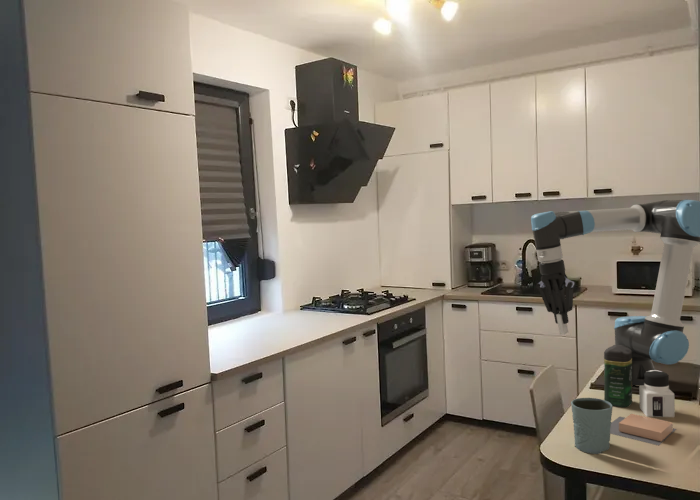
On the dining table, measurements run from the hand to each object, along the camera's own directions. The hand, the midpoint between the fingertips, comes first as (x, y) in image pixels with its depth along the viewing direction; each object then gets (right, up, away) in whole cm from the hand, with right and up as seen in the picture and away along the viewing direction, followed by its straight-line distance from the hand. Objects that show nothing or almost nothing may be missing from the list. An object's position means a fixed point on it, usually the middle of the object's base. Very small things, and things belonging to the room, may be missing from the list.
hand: (564, 333), depth 184 cm
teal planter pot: (-3, -27, -29) cm, 39 cm away
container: (+25, -23, -9) cm, 35 cm away
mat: (+13, -25, -21) cm, 35 cm away
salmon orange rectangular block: (+11, -23, -19) cm, 31 cm away
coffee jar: (+18, -23, +1) cm, 29 cm away
